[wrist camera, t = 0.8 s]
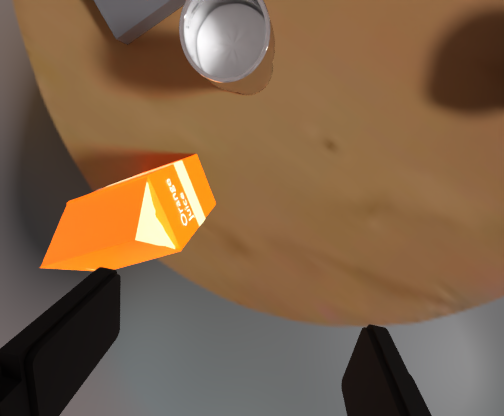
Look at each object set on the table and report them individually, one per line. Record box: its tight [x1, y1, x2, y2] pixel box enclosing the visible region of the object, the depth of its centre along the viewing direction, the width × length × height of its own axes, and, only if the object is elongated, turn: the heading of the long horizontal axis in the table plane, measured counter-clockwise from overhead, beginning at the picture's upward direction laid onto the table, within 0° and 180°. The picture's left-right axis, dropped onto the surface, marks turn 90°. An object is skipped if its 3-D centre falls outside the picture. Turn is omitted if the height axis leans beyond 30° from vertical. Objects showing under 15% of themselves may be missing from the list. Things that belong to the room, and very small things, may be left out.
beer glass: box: [179, 0, 275, 95], centre depth 26 cm, size 7×7×15 cm
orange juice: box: [40, 154, 216, 271], centre depth 30 cm, size 8×9×20 cm
